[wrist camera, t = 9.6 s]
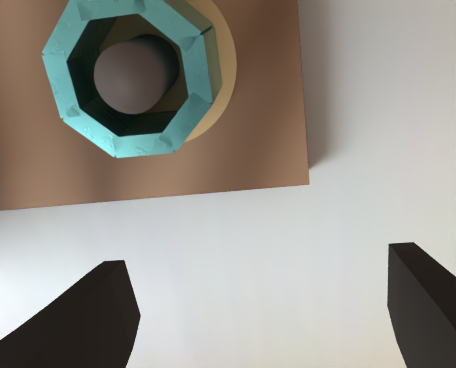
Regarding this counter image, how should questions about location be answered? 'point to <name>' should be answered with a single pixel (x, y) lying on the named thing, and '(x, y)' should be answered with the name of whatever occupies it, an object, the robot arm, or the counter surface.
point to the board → (154, 108)
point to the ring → (89, 53)
